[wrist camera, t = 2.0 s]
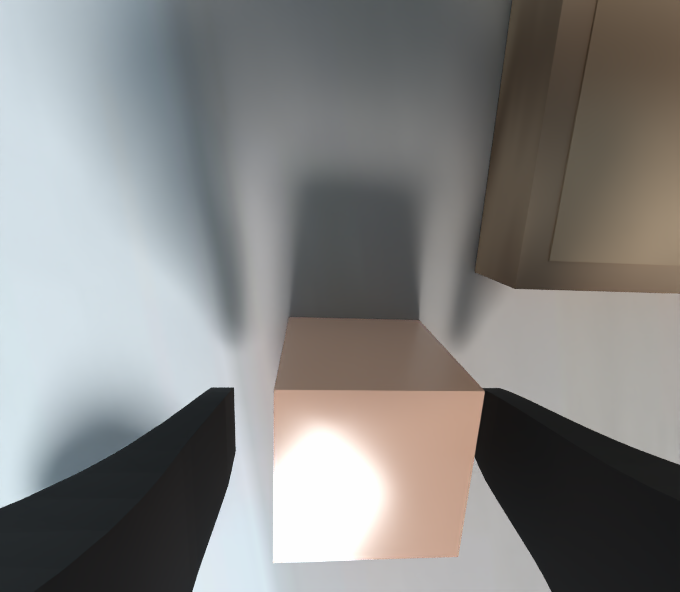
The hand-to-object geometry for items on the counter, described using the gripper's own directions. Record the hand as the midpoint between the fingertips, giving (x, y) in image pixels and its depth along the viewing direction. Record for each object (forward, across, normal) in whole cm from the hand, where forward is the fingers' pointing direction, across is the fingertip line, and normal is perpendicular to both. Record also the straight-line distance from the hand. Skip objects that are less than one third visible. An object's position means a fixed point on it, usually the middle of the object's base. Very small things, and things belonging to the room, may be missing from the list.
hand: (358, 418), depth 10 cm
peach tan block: (+3, 0, 0) cm, 3 cm away
